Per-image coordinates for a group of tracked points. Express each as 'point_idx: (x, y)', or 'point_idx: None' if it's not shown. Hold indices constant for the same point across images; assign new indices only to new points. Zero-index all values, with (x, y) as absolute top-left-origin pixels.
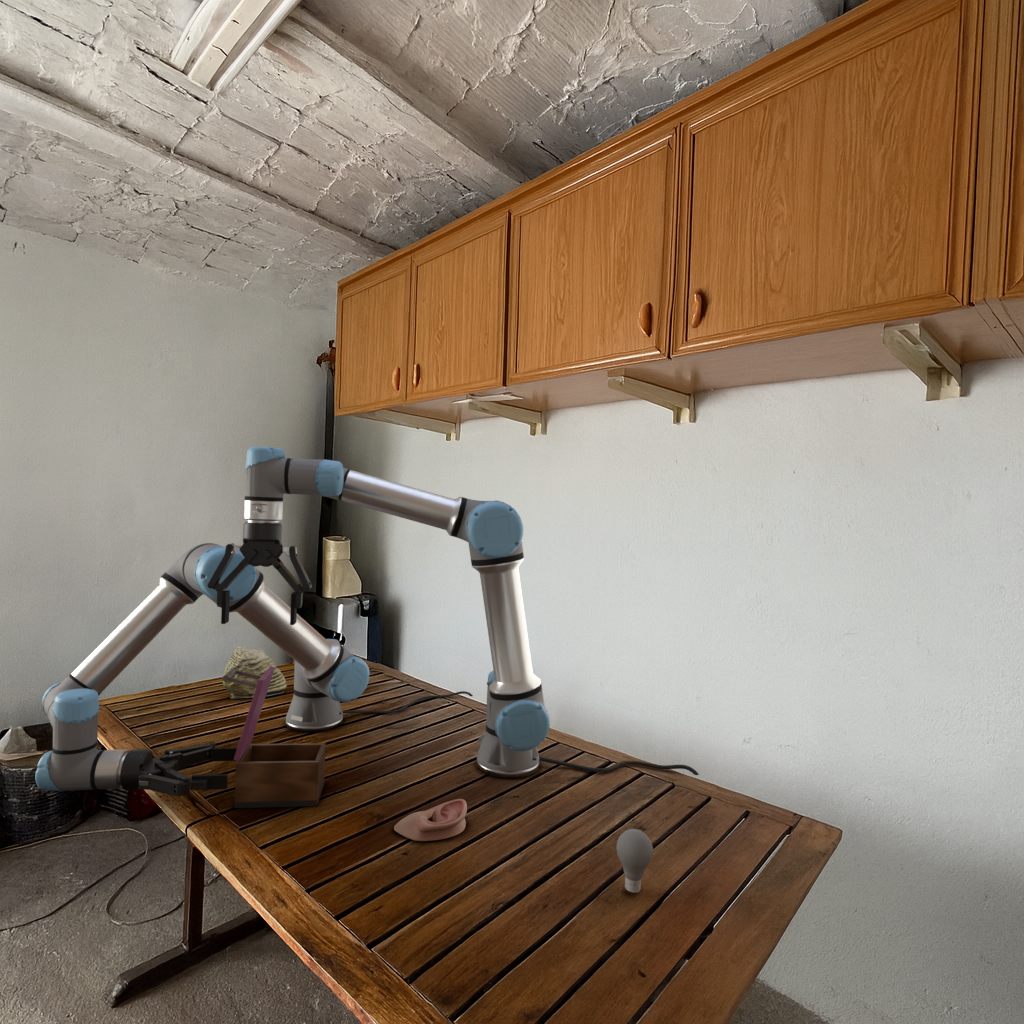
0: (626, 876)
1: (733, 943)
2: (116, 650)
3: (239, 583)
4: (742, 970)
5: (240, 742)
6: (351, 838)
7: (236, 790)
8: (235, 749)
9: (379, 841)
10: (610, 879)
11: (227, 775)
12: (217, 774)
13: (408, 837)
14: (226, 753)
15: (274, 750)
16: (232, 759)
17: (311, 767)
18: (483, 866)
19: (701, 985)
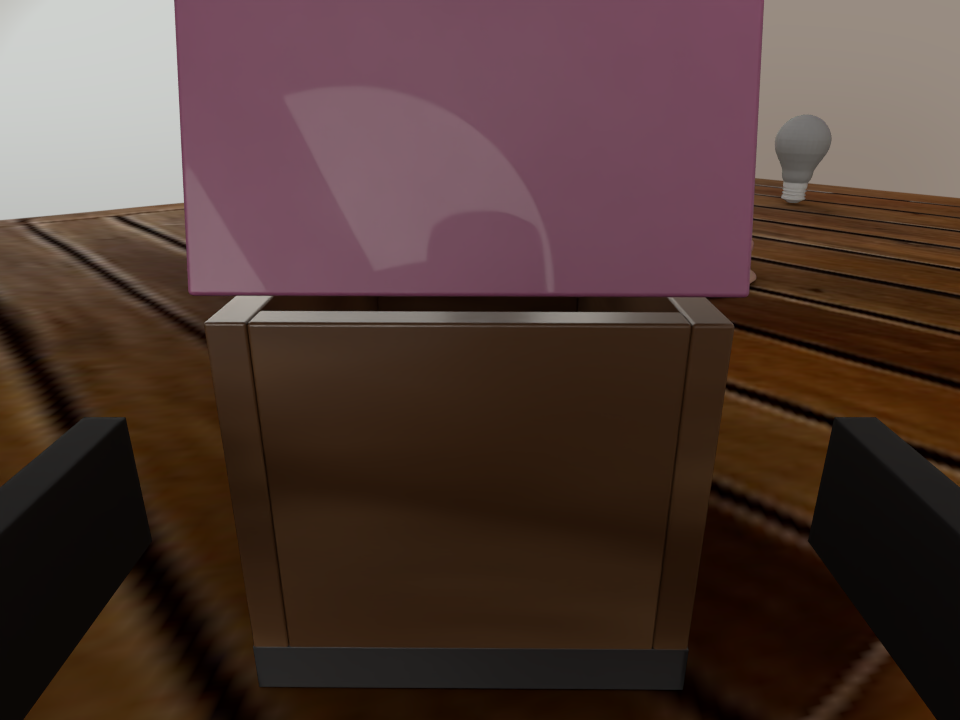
0: (806, 180)
1: (855, 191)
2: None
3: None
4: (900, 193)
5: (754, 82)
6: (794, 339)
7: (696, 555)
8: (68, 484)
9: (781, 311)
10: (770, 208)
11: (844, 426)
12: (901, 471)
13: (751, 281)
14: (2, 613)
15: (317, 298)
16: (77, 622)
17: None
18: (803, 247)
19: (949, 201)
